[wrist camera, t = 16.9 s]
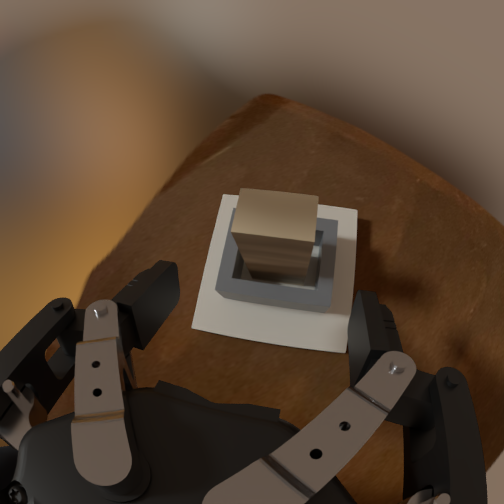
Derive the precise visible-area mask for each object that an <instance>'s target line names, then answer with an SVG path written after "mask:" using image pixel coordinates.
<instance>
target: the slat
mask: <svg viewBox="0 0 504 504" xmlns="http://www.w3.org/2000/svg"><path fill="white" fill-rule="evenodd" d="M318 197H319V196H313V195H305V194H296V193H287V192H278V191H268V190H257V189H246V188H241V189H240V193H239V198H238V202H237V206H236V211H235V215H234V219H233V224H232V228H231V233H232V236H233V238H234V240H235V242H236V244H237V247H238V249H239V251H240V253H241V255H242V258H243V260H244V262H245V264H246V266H247V268H248V271H249V273H250V275H251V277H252V279H257V280H264V281H271V282H278V283H285V284H293V285H300V286H303V285H304V281H305V277H306V274H307V270H308V266H309V262H310V258H311V254H312V250H313V246H314V242H315V232H316V222H317V210H318Z"/></svg>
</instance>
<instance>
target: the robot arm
mask: <svg viewBox="0 0 504 504" xmlns="http://www.w3.org/2000/svg"><path fill="white" fill-rule="evenodd" d="M179 297H180V288H179V279H178V269H177V265H176V263H174V262H169V261H163V260H159V261H158V262H157V263H156V264H155V265H154V266H153V267H152V268H151V269H147V270H145V271H143V272H141V273H139V274H138V275H137V276H136V277H135V278H134V279H133V281H130V282H129V283H128V285H126V286H125V287H124V288H123V289H122V290H121V291H120V292H119V293H118V294H117V295H116V296H115V297H114V298H113V299H112V300H99V301H96V302H94V303H92V304H91V305H89V306H88V307H87V309H86V310H85V309H74V307H73V304H72V302H71V300H70V299H68V298H57V299H54V300H52V301H51V302H50V303H48V304H47V305H46V306H45V307H44V308H43V309H42V310H41V311H40V312H39V313H38V314H37V315H36V316H34V317H33V318H32V319H31V320H30V321H29V322H28V323H27V324H26V325H25V326H24V327H23V328H22V329H21V330H20V332H18V333H17V334H16V335H15V336H14V338H13V339H11V341H10V342H9V343H8V344H7V345H6V346H5V347H4V348H3V349H2V350H1V351H0V438H1V439H3V440H4V441H5V442H6V443H7V444H8V445H9V446H10V447H12V448H13V449H15V450H18V459H17V465H16V470H15V473H14V477H13V479H12V481H11V483H10V484H9V485H8V486H7V487H6V488H4V489H3V490H0V504H357V503H356V502H355V500H354V499H353V498H352V497H351V495H350V494H349V493H348V491H347V490H346V489H345V488H344V486H343V485H342V484H341V482H340V481H339V480H338V478H337V477H336V474H337V473H338V472H339V471H340V470H341V469H342V468H343V467H344V466H345V465H346V464H347V463H348V462H349V461H350V459H351V458H352V457H353V456H354V455H355V454H356V453H357V452H358V451H359V450H360V448H361V447H362V446H363V445H364V444H365V443H366V441H367V440H368V439H369V438H370V437H371V435H372V434H373V433H374V432H375V431H376V429H377V428H378V427H379V425H380V424H381V423H382V422H383V420H386V421H390V422H393V423H396V424H400V425H403V438H404V484H403V501H401V502H399V503H398V504H487V484H486V473H485V464H484V457H483V450H482V444H481V438H480V433H479V428H478V423H477V419H476V414H475V410H474V406H473V402H472V399H471V395H470V391H469V388H468V384H467V381H466V379H465V377H464V375H463V374H462V373H461V372H460V371H458V370H457V369H455V368H451V367H444V368H441V369H440V370H439V371H438V372H437V374H436V375H432V374H429V373H425V372H422V371H419V370H417V369H416V365H415V363H414V361H413V360H412V359H411V358H410V357H409V356H408V355H406V354H404V353H403V350H402V346H401V342H400V338H399V335H398V331H397V330H396V325H395V323H394V318H393V315H392V312H391V311H390V310H389V309H388V308H387V306H386V305H382V304H379V302H378V298H377V295H376V292H372V291H364V290H358V292H357V294H356V298H355V301H354V304H353V308H352V311H351V315H350V318H349V322H348V329H347V335H348V349H349V366H350V386H349V387H348V388H347V389H346V390H345V391H344V392H343V393H342V394H341V395H340V396H339V397H338V398H337V399H336V400H334V401H333V402H332V403H331V404H330V405H329V406H328V407H327V408H326V409H325V410H324V411H323V412H321V413H320V414H319V415H318V416H317V417H316V418H315V419H314V420H312V421H311V422H310V423H309V424H308V425H307V426H305V427H304V428H303V429H302V430H300V429H299V428H297V427H296V426H294V425H293V424H291V423H289V422H287V421H285V420H283V419H280V418H279V414H280V409H274V408H268V407H262V406H257V405H252V404H218V403H213V402H210V401H208V400H206V399H204V398H203V397H201V396H199V395H197V394H195V393H193V392H191V391H190V390H188V389H186V388H183V387H179V386H176V385H173V384H170V383H166V382H163V381H160V380H159V381H158V383H157V385H156V386H155V388H151V387H145V388H138V387H137V382H136V376H135V371H134V365H133V359H132V354H131V350H132V348H133V347H135V348H138V349H141V350H144V349H145V347H146V346H147V344H148V343H149V342H150V340H151V339H152V338H153V336H154V335H155V333H156V332H157V331H158V329H159V328H160V327H161V325H162V324H163V322H164V321H165V320H166V318H167V317H168V316H169V314H170V313H171V312H172V310H173V309H174V308H175V306H176V305H177V303H178V301H179ZM56 338H57V340H58V342H59V344H60V348H59V349H58V350H57V351H56V352H55V353H54V355H53V356H52V357H51V358H50V359H49V361H48V362H46V360H45V351H46V349H47V348H48V347H49V346H50V344H51V343H52V342H53V341H54V340H55V339H56ZM74 376H75V412H72V413H70V414H67V415H64V416H61V417H58V418H55V419H53V420H50V421H47V417H48V416H47V415H48V414H49V412H50V411H51V409H52V408H53V406H54V405H55V403H56V402H57V400H58V399H59V397H60V396H61V395H62V393H63V392H64V390H65V389H66V388H67V386H68V385H69V383H70V382H71V381H72V379H73V378H74Z"/></svg>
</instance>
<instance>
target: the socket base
mask: <svg viewBox="0 0 504 504" xmlns="http://www.w3.org/2000/svg"><path fill="white" fill-rule="evenodd" d="M238 198H239V196H237V195H225V194H223V197H222V201H221V205H220V209H219V213H218V217H217V221H216V224H215V228H214V232H213V236H212V240H211V245H210V249H209V253H208V257H207V261H206V265H205V270H204V274H203V278H202V283H201V287H200V291H199V296H198V300H197V305H196V310H195V314H194V319H193V324H192V328H193V329H197V330H202V331H206V332H211V333H216V334H221V335H225V336H231V337H236V338H241V339H247V340H252V341H258V342H264V343H270V344H276V345H283V346H290V347H297V348H304V349H312V350H320V351H329V352H339V353H346V347H347V340H348V335H347V329H348V322H349V318H350V315H351V308H352V298H353V288H354V275H355V261H356V241H357V210H354V209H347V208H341V207H334V206H326V205H319V204H318V210H317V222H316V232H315V242H314V246H313V250H312V254H311V258H310V262H309V266H308V270H307V274H306V277H305V281H304V285H303V286H300V285H293V284H285V283H278V282H271V281H264V280H257V279H252V277H251V275H250V273H249V271H248V268H247V266H246V264H245V262H244V260H243V258H242V255H241V253H240V251H239V249H238V247H237V244H236V242H235V240H234V238H233V236H232V233H231V228H232V224H233V219H234V215H235V211H236V206H237V202H238Z"/></svg>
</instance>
